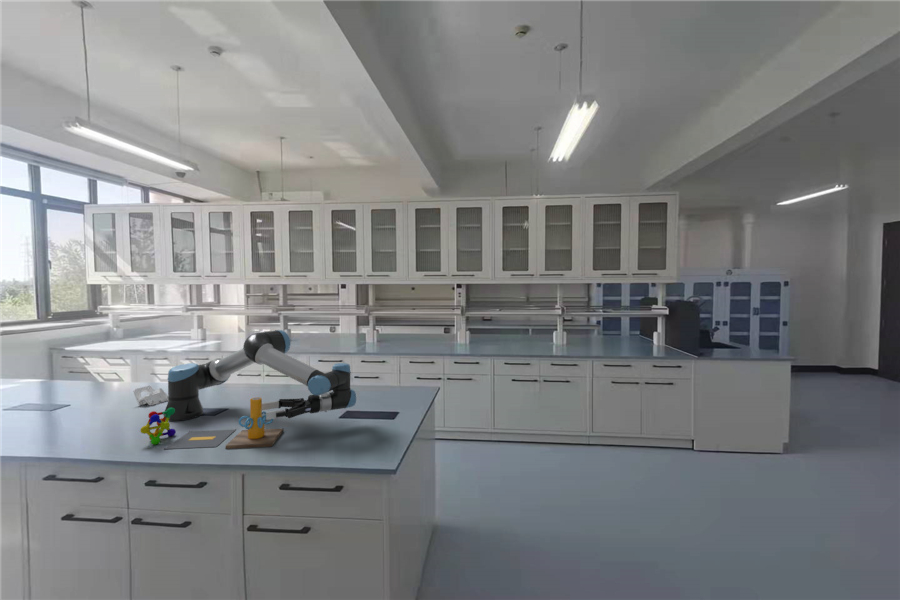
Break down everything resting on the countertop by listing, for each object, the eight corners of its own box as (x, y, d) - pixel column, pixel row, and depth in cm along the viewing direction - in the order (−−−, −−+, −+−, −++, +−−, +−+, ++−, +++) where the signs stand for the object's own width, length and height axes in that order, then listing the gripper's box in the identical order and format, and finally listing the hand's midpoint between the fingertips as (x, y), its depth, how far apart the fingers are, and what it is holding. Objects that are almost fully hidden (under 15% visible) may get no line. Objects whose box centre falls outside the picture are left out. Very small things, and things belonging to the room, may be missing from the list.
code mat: (189, 431, 161) (189, 431, 161) (235, 429, 163) (235, 429, 163) (163, 449, 143) (163, 448, 143) (216, 447, 146) (216, 446, 146)
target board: (242, 433, 160) (242, 430, 160) (283, 431, 162) (283, 428, 162) (225, 448, 144) (225, 445, 144) (271, 446, 146) (271, 443, 146)
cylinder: (257, 443, 146) (257, 404, 146) (233, 441, 148) (233, 402, 148) (278, 432, 158) (277, 395, 158) (255, 430, 160) (255, 393, 160)
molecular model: (157, 445, 146) (157, 415, 146) (138, 445, 146) (138, 414, 146) (178, 435, 158) (178, 406, 158) (161, 435, 158) (161, 406, 158)
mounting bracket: (162, 403, 207) (155, 384, 208) (171, 399, 206) (164, 380, 207) (140, 409, 196) (132, 390, 196) (149, 405, 194) (142, 385, 195)
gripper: (326, 420, 154) (268, 430, 143) (311, 404, 175) (259, 412, 164) (326, 401, 154) (268, 409, 143) (311, 387, 175) (259, 394, 164)
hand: (263, 411), depth 153 cm, fingers open, 13 cm apart
